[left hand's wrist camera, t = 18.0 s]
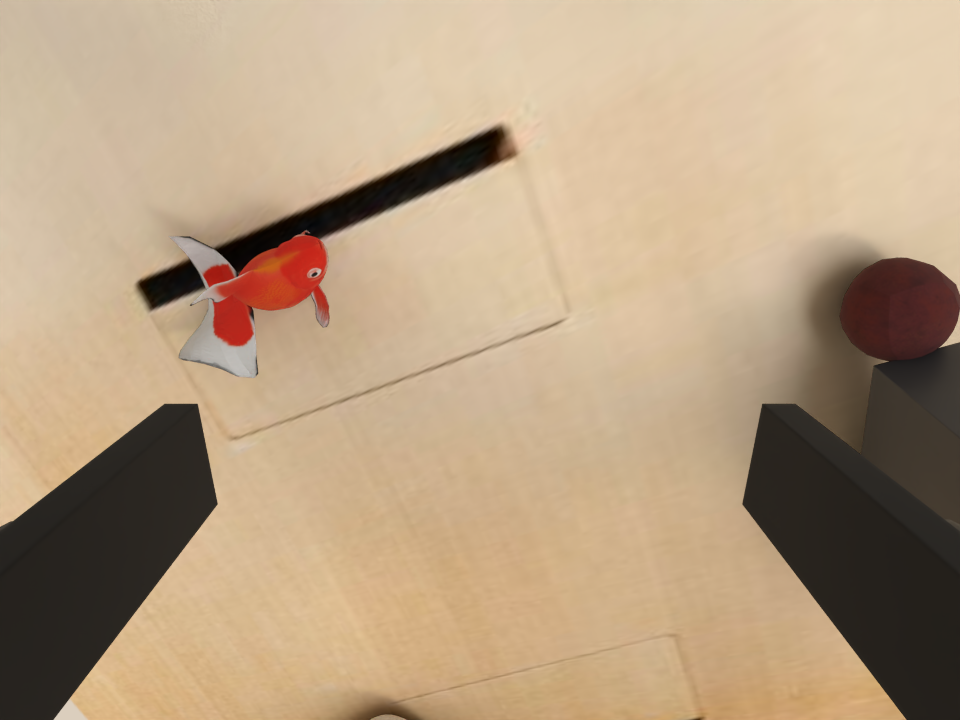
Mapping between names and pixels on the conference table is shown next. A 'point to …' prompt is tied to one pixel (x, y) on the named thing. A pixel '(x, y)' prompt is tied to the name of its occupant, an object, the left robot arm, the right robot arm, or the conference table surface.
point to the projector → (387, 717)
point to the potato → (900, 309)
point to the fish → (250, 298)
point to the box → (918, 427)
